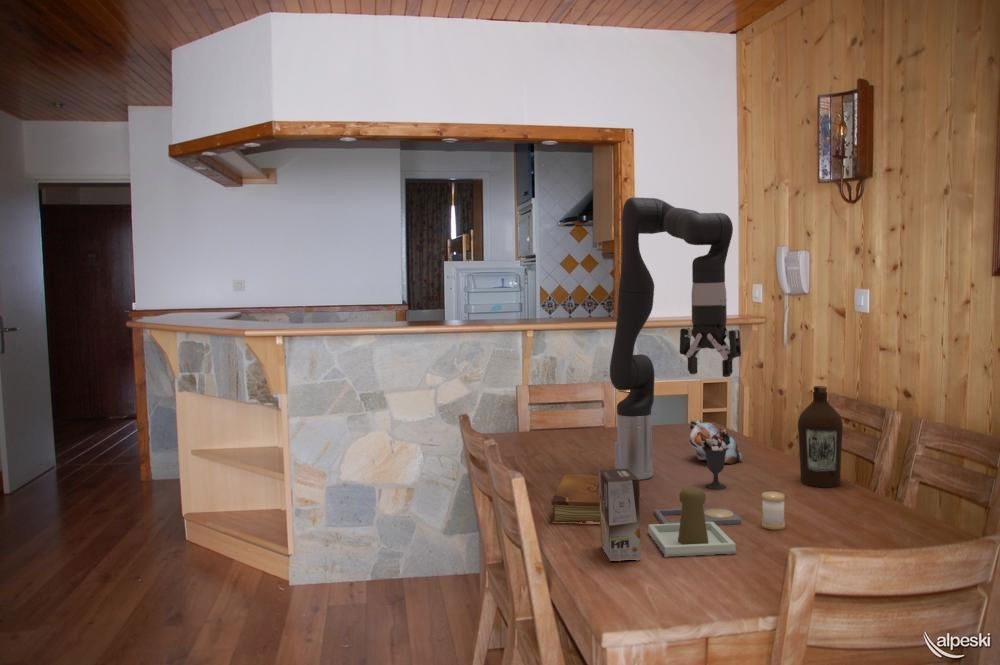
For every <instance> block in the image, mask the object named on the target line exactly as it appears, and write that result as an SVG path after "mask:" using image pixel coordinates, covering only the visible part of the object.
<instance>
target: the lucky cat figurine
mask: <svg viewBox="0 0 1000 665" xmlns="http://www.w3.org/2000/svg"><path fill="white" fill-rule="evenodd" d="M718 431H719V429H718V428H716V426H715V425H714V423H710V422H702V420H699V419H698V420H696V421H692V420H690V434H689V443H690V446H691V448H693V449H694V450H695V451H696V457H697V459H698V461H706V454H705V451H704V450H703V449H702V447H703V446H704V445H703V443H704V442H705V441H706V442H707V441H708V440H709V439H710V438H711V437H713V435H716V434H717V437H720V431H719V432H718ZM721 437H722V438H723V440H722V441H723V442H724V443H725V444H726V447H727V448H729V449H728V450H727V451H726V456H725V464H727V465H730V464H731V465H733V463H734V464H737V463H738V462H739V461H741V460H742V459H743V456H742V453H741V452H740V451H739V450H738V444H737V441H736V440H735V439H734V437H732V435H729V432H728V430H727V429H722V431H721ZM736 462H737V463H736Z"/></svg>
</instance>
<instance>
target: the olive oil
mask: <svg viewBox="0 0 1000 665" xmlns="http://www.w3.org/2000/svg"><path fill="white" fill-rule="evenodd" d="M827 389H828V388H827V386H823V385H814V386H813V392H812V402H811V403H810V404H809V405H807V406H806V407H805V408H804V410H803V411H801V414H800V415H799V417H798V421H797V429H798V445H799V447H798V448H799V449H798V450H799V467H800V468H799V470H800V473H799V474H800V483H802V484H804V485H805V484H806V485H805V486H809V485H810V486H809V487H814V486H816V487H815V488H835V487H834V486H836V487H839V485H840V484H841V469H842V468H841V467H842V464H841V463H842V444H843V430H844V429H843V428H844V424H843V420H842V417H841V415H840V413H838V411H837V410H836V409H835V408H834V407H833V406H832V405H831V404H830V403H829V402H828V391H827Z"/></svg>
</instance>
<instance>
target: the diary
mask: <svg viewBox="0 0 1000 665" xmlns="http://www.w3.org/2000/svg"><path fill="white" fill-rule="evenodd" d="M640 489H641V488H640V481H639V498H640V494H641V493H640V492H641V491H640ZM550 503H551V506H554V515H553V518H552V520H551V523H552V522H578V523H579V522H582V523H586V521H593V522H600V495H599V475H589V474H564V475H563V477H562V479H561V481H560V483H559V485H558V487H557V489H556V491H555V493H554V495H553V496H552V499H551V502H550Z"/></svg>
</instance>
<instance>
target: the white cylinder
mask: <svg viewBox="0 0 1000 665" xmlns="http://www.w3.org/2000/svg"><path fill="white" fill-rule="evenodd" d="M761 500H762V521H761V522H762V523H761V526H762V528H764V529H768V530H774V531H775V530H776V531H777V530H778V531H779V530H784V529H785V528H786V522H785V494H784V493H782V492H779V491H764V492H762V493H761Z"/></svg>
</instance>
